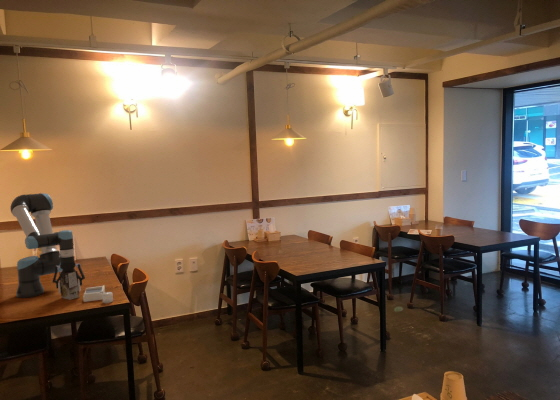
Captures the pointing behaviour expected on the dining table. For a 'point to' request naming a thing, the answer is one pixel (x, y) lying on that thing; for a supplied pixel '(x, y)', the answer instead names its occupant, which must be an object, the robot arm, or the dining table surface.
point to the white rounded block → (107, 297)
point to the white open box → (93, 293)
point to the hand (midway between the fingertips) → (69, 292)
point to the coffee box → (69, 285)
